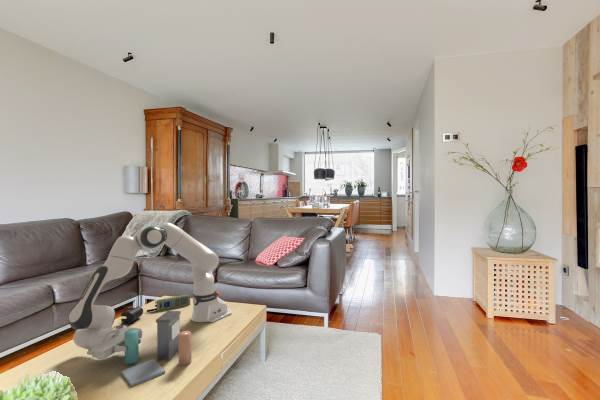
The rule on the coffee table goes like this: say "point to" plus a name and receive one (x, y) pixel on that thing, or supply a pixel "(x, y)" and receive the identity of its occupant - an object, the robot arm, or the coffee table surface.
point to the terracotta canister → (184, 347)
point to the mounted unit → (168, 335)
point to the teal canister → (131, 346)
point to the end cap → (131, 315)
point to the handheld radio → (171, 303)
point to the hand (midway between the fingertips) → (133, 345)
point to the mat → (142, 372)
